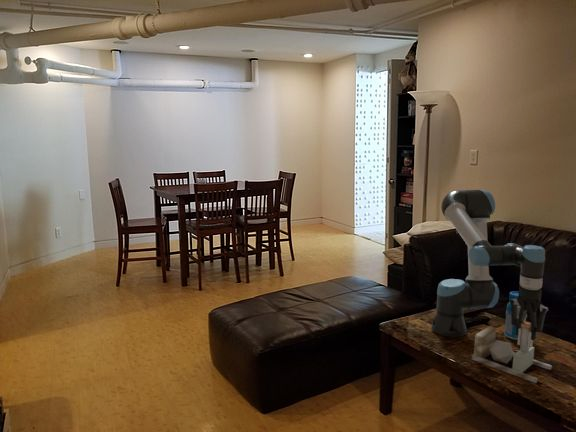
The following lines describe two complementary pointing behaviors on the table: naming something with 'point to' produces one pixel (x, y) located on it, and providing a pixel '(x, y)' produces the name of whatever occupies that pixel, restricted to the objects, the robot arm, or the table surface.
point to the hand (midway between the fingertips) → (524, 345)
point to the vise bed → (482, 350)
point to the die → (501, 351)
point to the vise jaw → (524, 350)
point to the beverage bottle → (509, 328)
